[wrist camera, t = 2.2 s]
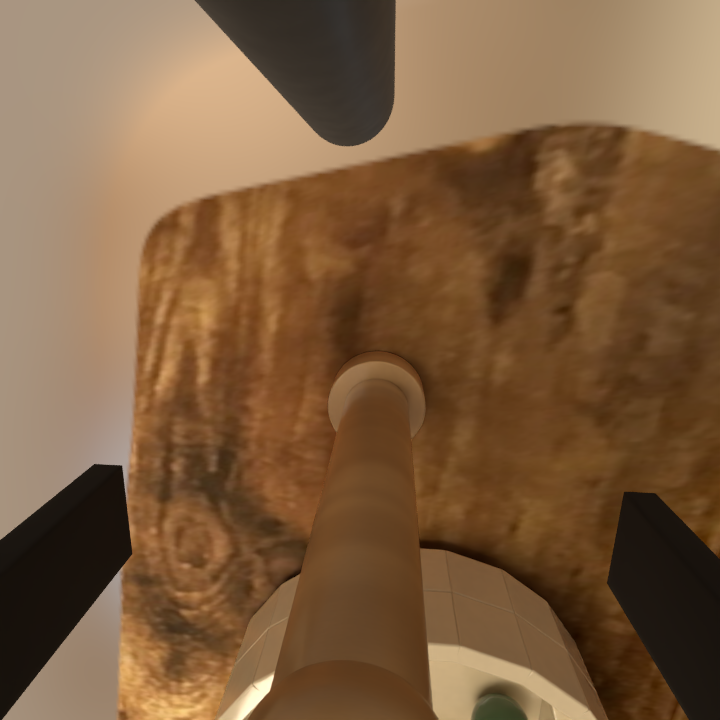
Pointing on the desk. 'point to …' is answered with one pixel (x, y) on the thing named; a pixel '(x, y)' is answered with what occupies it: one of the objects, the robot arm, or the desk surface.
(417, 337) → the desk surface
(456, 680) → the bowl
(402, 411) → the muddler
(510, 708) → the marble
